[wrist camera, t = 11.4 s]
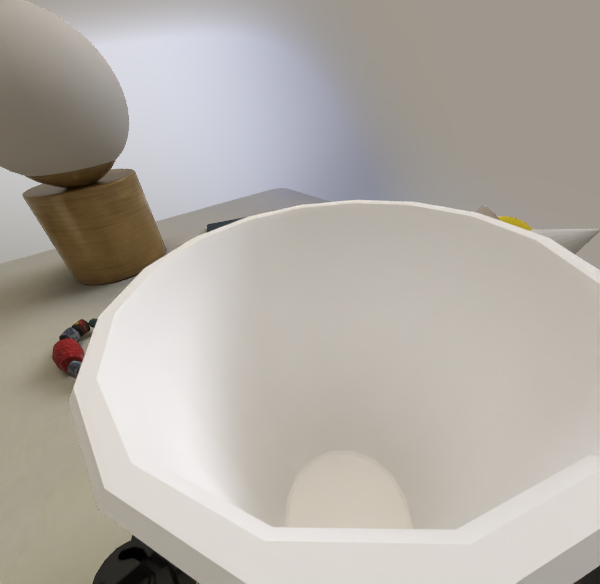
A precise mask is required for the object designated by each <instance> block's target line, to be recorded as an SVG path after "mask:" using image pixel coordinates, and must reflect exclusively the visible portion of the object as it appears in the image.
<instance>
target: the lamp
mask: <svg viewBox="0 0 600 584" xmlns="http://www.w3.org/2000/svg"><path fill="white" fill-rule="evenodd" d="M128 131H129V116H128V108H127V104H126V100H125V97H124V93H123V91H122V88H121V86H120V84H119V82H118V80H117V78H116V76H115V74H114V72H113V71H112V69H111V67H110V66H109V64H108V63H107V62H106V60H105V59H104V57H103V56H102V55H101V54H100V53H99V51H98V50H97V49H96V48H95V47H94V46H93V45H92V43H90V41H89V40H88V39H86V38H85V37H84V36H83V35H82V34H81V33H80V32H79V31H77V30H76V29H75V28H74V27H73V26H71V25H70V24H68V23H67V22H66V21H64V20H63V19H61V18H60V17H58V16H56V15H55V14H53V13H51V12H50V11H48V10H46V9H44V8H42V7H40V6H38V5H36V4H33V3H30V2H28V1H26V0H0V166H1V167H3V168H5V169H7V170H9V171H12V172H15V173H18V174H21V175H25V176H26V177H28V178H30V179H32V180H35V181H37V182H40V183H43V184H41V185H38V186H36V187H33V188H31V189H29V190H27V191H25V192H24V193H23V197H24V199H25V201H26V202H27V204H28V205H29V207H30V208H31V210H32V212H33V213H34V215H35V216H36V218H37V220H38V221H39V223H40V224H41V226H42V228H43V229H44V231H45V232H46V234H47V235H48V237H49V238H50V240H51V242H52V243H53V245H54V246H55V248H56V250H57V251H58V253H59V254H60V256H61V258H62V259H63V261H64V262H65V264H66V265H67V267H68V269H69V270H70V272H71V273H72V275H73V277H74V278H75V279H76V280H77V281H78V282H80V283H83V284H90V285H96V284H105V283H111V282H115V281H119V280H123V279H126V278H129V277H132V276H134V275H137V274H139V273H140V272H141V271H142V270H143V269H144V268H146V267H147V266H149V265H150V264H152V263H154V262H155V261H157V260H159V259H160V258H162V257H163V256H165V253H166V248H165V245H164V243H163V240H162V238H161V235H160V233H159V230H158V228H157V225H156V223H155V220H154V218H153V215H152V213H151V210H150V208H149V205H148V203H147V200H146V198H145V195H144V193H143V190H142V188H141V185H140V183H139V180H138V178H137V175H136V173H135V171H134V170H131V169H112V170H110V169H111V168H112V166H113V164H114V162H115V160H116V159H117V157H118V156H119V155H120V154H121V152H122V151H123V149H124V146H125V144H126V141H127V137H128Z"/></svg>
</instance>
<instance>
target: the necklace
mask: <svg viewBox="0 0 600 584" xmlns="http://www.w3.org/2000/svg"><path fill="white" fill-rule="evenodd" d="M97 320H98V319H91V320H90V321H89V323H87V321H85V320H83V319H81V320H79V321H78V322H77V323H75V324H74V325H73V326H72V328H71V327H70V328H67V329H66V330H65V331H64V332H63V333H62V335H61V336H60V341H58V342H57V343H56V344H55V345H54V347H53V360H54V362H55V363H56V365H57V367H58V368H59V369H61V370H63V371H65V372H69V375H70V376H72V377H74V378H77V375H78V372H79V370H80V367H81V364H82V361H83V358H84V353H83V349H82V347H81V346H80V345H79V344H78V341H79V340H80V337H82V336H83V335H84V334H86V333H87V332H89V331H90V326H91V327H95V324H96V322H97ZM89 325H90V326H89Z"/></svg>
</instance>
